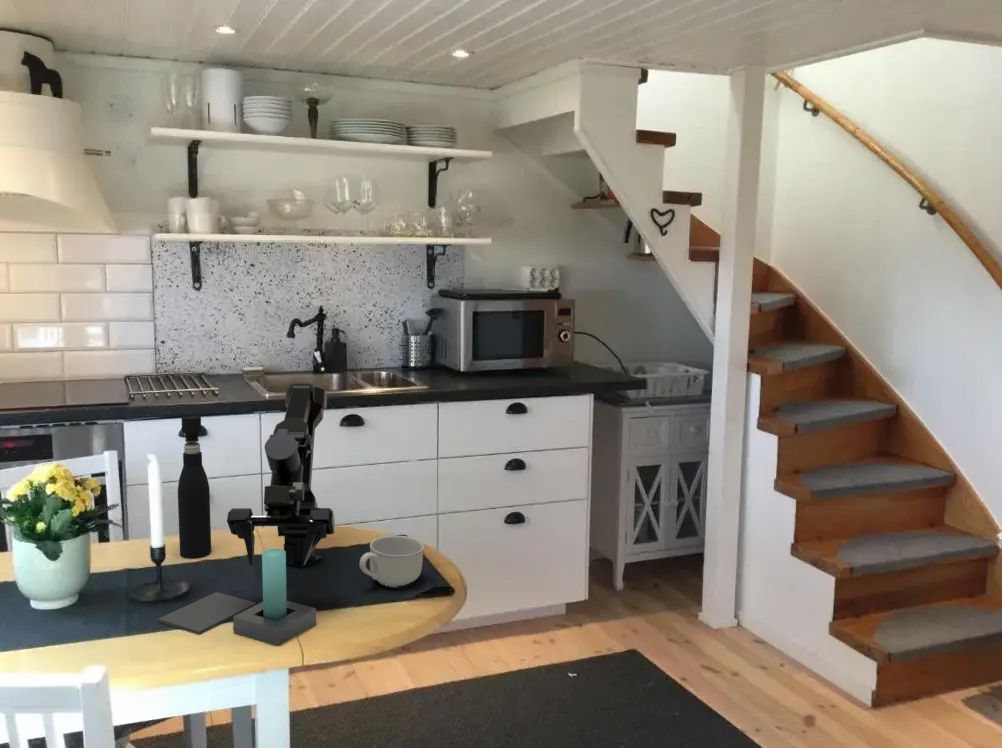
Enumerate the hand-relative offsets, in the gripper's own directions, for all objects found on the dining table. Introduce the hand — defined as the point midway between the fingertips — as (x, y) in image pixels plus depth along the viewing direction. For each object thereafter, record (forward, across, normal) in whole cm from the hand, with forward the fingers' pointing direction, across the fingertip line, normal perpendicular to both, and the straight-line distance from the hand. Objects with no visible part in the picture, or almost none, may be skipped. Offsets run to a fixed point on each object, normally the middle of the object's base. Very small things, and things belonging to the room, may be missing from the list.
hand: (277, 564), depth 163 cm
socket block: (+10, 0, +5) cm, 11 cm away
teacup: (-4, +19, +20) cm, 28 cm away
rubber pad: (+5, -13, +10) cm, 17 cm away
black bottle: (-17, -23, +32) cm, 43 cm away
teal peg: (+10, 0, +5) cm, 11 cm away
